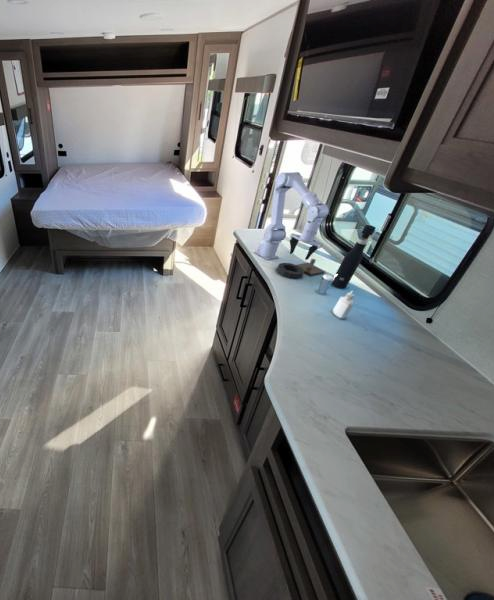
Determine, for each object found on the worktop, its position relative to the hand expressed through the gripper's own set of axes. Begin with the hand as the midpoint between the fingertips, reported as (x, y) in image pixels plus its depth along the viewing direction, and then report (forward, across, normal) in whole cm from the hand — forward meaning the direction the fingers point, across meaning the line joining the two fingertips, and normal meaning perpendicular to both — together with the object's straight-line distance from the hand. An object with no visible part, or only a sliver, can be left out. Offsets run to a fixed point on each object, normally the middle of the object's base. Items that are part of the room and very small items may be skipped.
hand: (298, 256), depth 152 cm
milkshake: (+10, +18, -6) cm, 21 cm away
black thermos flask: (+10, +19, +8) cm, 23 cm away
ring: (+10, -1, -1) cm, 10 cm away
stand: (+10, +4, +11) cm, 15 cm away
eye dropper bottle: (+10, +30, -19) cm, 37 cm away
